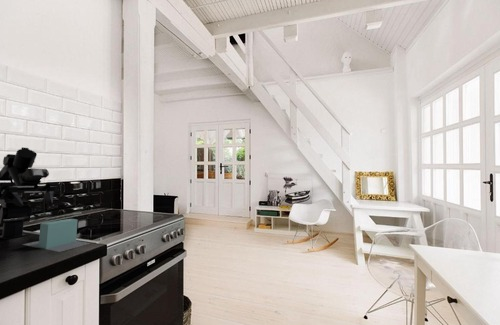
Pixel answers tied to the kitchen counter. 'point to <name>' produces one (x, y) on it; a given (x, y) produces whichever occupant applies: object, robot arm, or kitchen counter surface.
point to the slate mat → (60, 247)
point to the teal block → (57, 233)
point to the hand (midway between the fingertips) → (37, 204)
